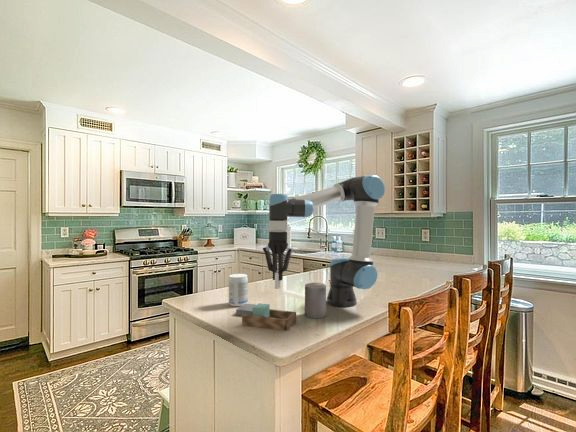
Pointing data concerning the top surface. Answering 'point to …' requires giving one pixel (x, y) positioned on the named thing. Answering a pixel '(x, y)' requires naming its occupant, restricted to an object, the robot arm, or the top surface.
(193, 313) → the top surface
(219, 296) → the top surface
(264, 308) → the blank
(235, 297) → the supplement tub
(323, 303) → the pillar candle
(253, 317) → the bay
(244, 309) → the trivet
